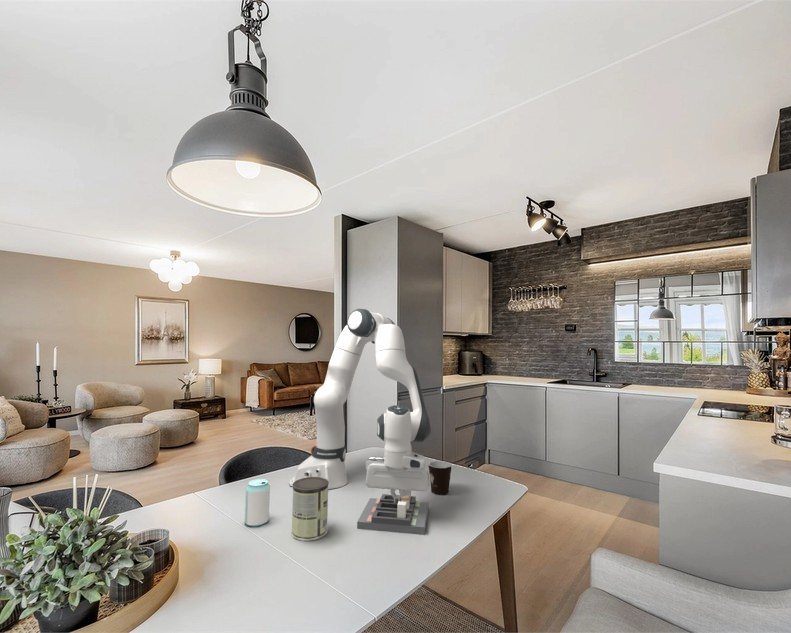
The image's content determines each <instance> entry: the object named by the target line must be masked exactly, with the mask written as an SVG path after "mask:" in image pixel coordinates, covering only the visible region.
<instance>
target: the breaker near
mask: <svg viewBox="0 0 791 633" xmlns="http://www.w3.org/2000/svg"><path fill="white" fill-rule="evenodd" d="M397 518H405V519H406V502H401V501H398V504H397Z"/></svg>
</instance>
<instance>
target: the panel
mask: <svg viewBox="0 0 791 633" xmlns="http://www.w3.org/2000/svg"><path fill="white" fill-rule="evenodd" d="M399 495H400V494H399ZM399 495H398V494H396V496H399ZM416 499H417V497H416V496H414V495H413V496H412V495H411V501H410V506H409V509H406V519H405V518H397V504H394V498H393V496H392V495H391V494H386V493H382V495H381V496H380V498H376V497H375V498H374V497H370V498H368V502H367V503H366V505H365V507H364V509H363V510H362V512H361V514H360V516H359V518H358V519H357V521H356V525H357V526H356V528H357V529H358V530H359V529H360V530H366V531H367V530H368V531H370V530H371V531H382V532H392V533H403V534H404V533H405V534H416V535H425V533H426V527H427V519H428V513H429V502H428V501H418V500H416Z"/></svg>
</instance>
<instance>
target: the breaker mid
mask: <svg viewBox="0 0 791 633" xmlns="http://www.w3.org/2000/svg"><path fill="white" fill-rule="evenodd" d="M401 502H406V509H409V506H410V494H406V493H403V495H402V496H401Z"/></svg>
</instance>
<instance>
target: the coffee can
mask: <svg viewBox="0 0 791 633" xmlns="http://www.w3.org/2000/svg"><path fill="white" fill-rule="evenodd" d="M328 485H329V482H328V480H327V479H324V478H321V477H307V478H302V479H299V480H297V481H295V482H294V483H293V486H292V510H291V511H292V514H291V515H292V517H291V536H292V538H293V539H295V540H297V541H300V542H311V541H316V540H319V539H323V537H324V536H326V535H327V533H328V515H329V514H328V511H329V510H328V509H329V504H328V503H329V489H328Z"/></svg>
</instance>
